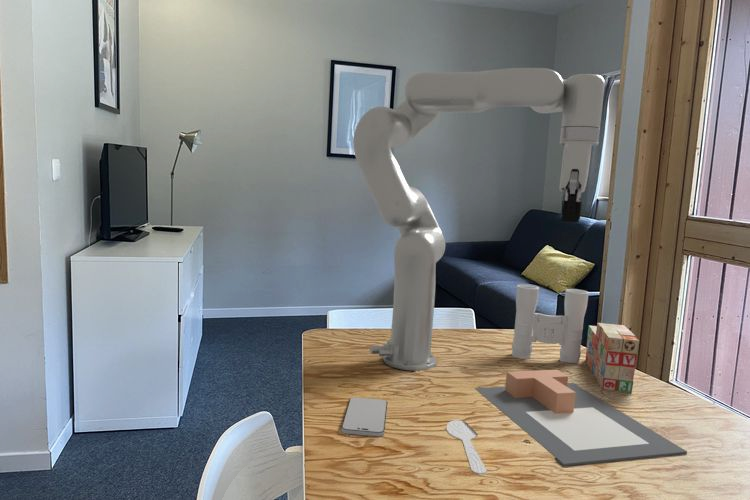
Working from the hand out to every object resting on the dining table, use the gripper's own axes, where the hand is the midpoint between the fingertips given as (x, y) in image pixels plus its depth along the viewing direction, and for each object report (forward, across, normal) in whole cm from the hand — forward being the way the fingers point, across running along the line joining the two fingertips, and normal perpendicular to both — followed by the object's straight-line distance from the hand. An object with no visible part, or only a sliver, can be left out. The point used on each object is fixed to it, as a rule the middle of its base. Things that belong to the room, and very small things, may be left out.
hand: (571, 220), depth 116 cm
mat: (+36, +16, +4) cm, 40 cm away
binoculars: (+36, -19, -4) cm, 41 cm away
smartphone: (+37, +34, -30) cm, 59 cm away
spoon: (+37, +36, -11) cm, 53 cm away
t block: (+36, +10, -1) cm, 37 cm away
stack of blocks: (+37, -14, +11) cm, 41 cm away
